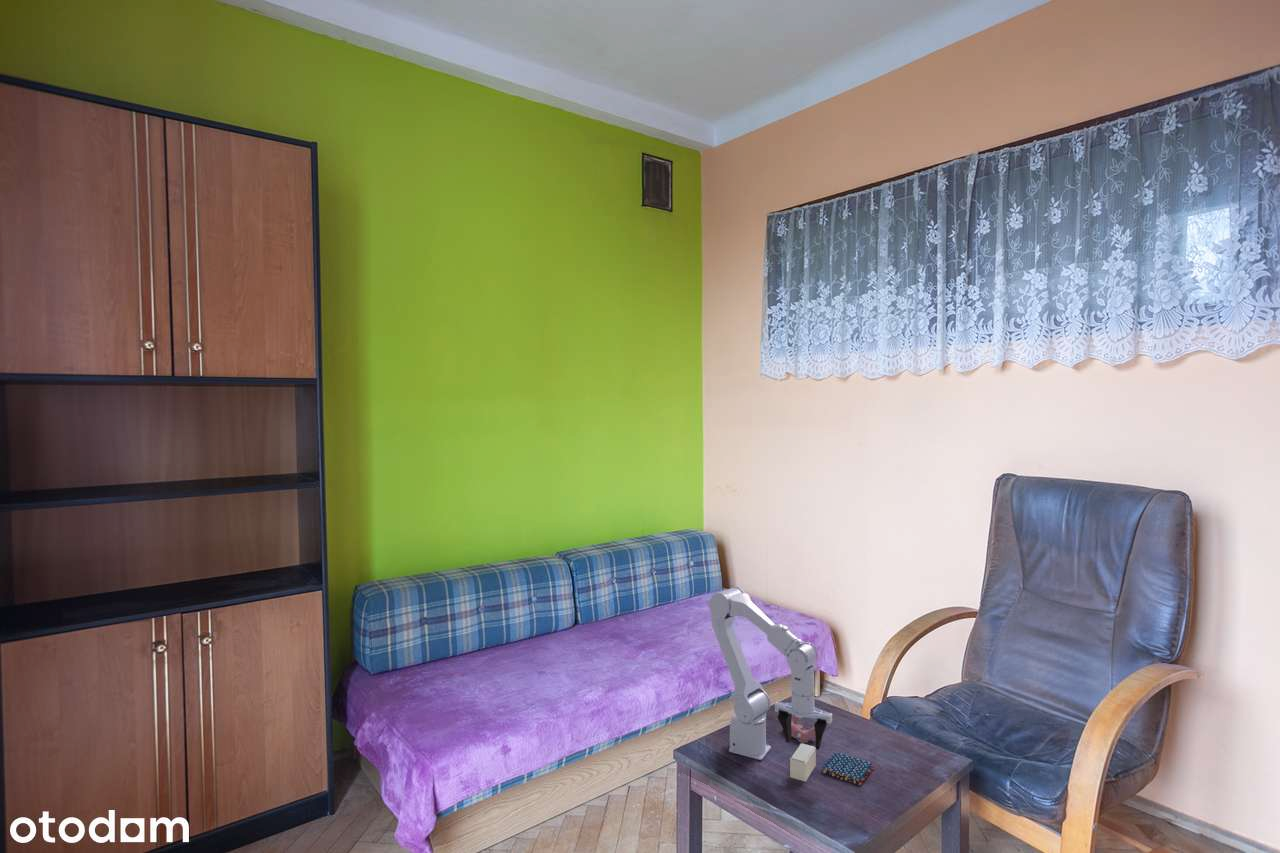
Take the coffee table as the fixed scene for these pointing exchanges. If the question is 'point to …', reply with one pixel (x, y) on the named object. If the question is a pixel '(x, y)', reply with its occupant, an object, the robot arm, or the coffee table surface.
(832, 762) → the woven mat
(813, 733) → the pink curved figurine
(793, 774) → the painted block
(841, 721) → the coffee table surface
